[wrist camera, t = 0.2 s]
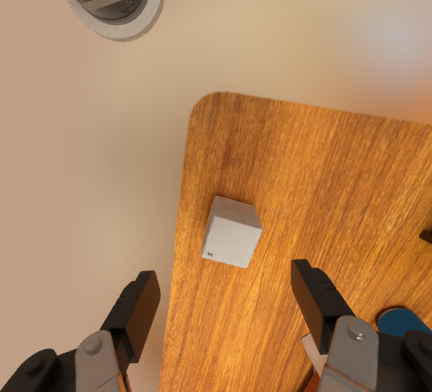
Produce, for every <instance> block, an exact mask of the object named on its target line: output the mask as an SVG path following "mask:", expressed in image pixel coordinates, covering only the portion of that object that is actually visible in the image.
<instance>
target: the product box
mask: <svg viewBox="0 0 432 392" xmlns="http://www.w3.org/2000/svg"><path fill="white" fill-rule="evenodd" d="M262 231H263V228H262V226H261V224H260V221H259V218H258V216H257V213H256V211H255V208H254V206H253V205H250V204H246V203H243V202H239V201H235V200H231V199H228V198H224V197H220V196H217V195H215V197H214V200H213V203H212V206H211V210H210V213H209V216H208V220H207V224H206V227H205V233H204V240H203V246H202V253H201V257H202V258H206V259H210V260H214V261H218V262H222V263H226V264H230V265H234V266H238V267H242V268H247V267H248V264H249V262H250V260H251V257H252V255H253V253H254V250H255V248H256V245H257V243H258V241H259V238H260V236H261V233H262Z"/></svg>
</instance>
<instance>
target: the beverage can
mask: <svg viewBox="0 0 432 392" xmlns="http://www.w3.org/2000/svg"><path fill="white" fill-rule="evenodd" d="M377 327H378V329H379V331H380V332H381V333H385V334H390V335H394V336H398V337H403V338H404V334H405V333H406V332H407V331H409V330H421V331H425V332H428V333H430V334H432V331H431V330H430V329H429V328H428V327H427V326H426V325H425V324H424V323H423V322H422V321H421V320H420V319H419V318H418V317H417V316H416V315H415V314H414V313H413V312H412V311H410V310H408V309H403V308H392V309H388V310H386V311H384V312H383V313H382V314H381V315H380V317H379V320H378V323H377Z"/></svg>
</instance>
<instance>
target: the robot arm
mask: <svg viewBox="0 0 432 392" xmlns="http://www.w3.org/2000/svg"><path fill="white" fill-rule="evenodd" d="M75 1H76V2H78V3H79V4H80V5H81V6H82V7H83V8H84V9H85V10H86V11H87V12H88V13H89V14H91V15H92V16H93V17H94V18H96V19H97V20H99V21H101V22H103V23H106V24H110V25H123V24H126V23H129V22H131V21H133V20H134V19H136V18H137V17H138V16H139V15H140V14H141V12H142V11H143V10H144V8H145V6H146V4H147V2H148V0H75ZM291 285H292V290H293V293H294V295H295V298H296V300H297V302H298V305H299V307H300V309H301V312H302V314H303V316H304V319H305V321H306V324H307V326H308V328H309V331H310V333H311V335H312V338H313V340H314V342H315V345H316V347H317V349H318V352H319V354H320V355H328V357H327V361H326V364H324V367H323V370H322V374H321V378H320V382H319V386H318V390H317V392H432V334H430V333H428V332H425V331H421V330H409V331H407V332H406V333H405V334H404V338H403V337H398V336H394V335H390V334H385V333H381V332H378V331H375V330H374V329H373V328H372V327H371V326H370V325H369V324H368V323H367V322H365V321H364V320H362V319H360V318H357V317H356V316H355V314H354V313H353V312H352V310H351V309H350V307H349V306H348V304H347V303H346V302H345V300H344V299H343V297H342V296H341V294H340V293H339V292H338V290H336V287H335V286H334V284H333V283H332V282H331V280H330V279H329V277H328V276H327V274H326V273H324V272H323V271H322V270H320V269H319V268H312V267H311V266H310V264H309V262H308V261H307V260H306V259H296V260H292V261H291ZM160 296H161V295H160V288H159V284H158V280H157V277H156V273H155V271H154V270H153V271H141V272H140V273H139V275H138V277H137V278H136V280H135V281H132V282H130V283H129V284H128V285H127V286H126V287H125V288H124V290H123V291H122V293H121V295H120V297H119V298H118V300H117V301H116V304H115V305H114V306H113V308H112V310H111V312H110V313H109V315H108V316H107V318H106V320H105V321H104V323H103V325H102V327H101V328H100V330H99V331H97V332H95V333H93V334H91V335H90V336H88V337H87V338H86V339H85V340H84V341H83V342H82V343H81V344H80V345H79V347H78V348H77V349H74V350H71V351H69V352H66V353H63V354H61V355H58V356H57V354H56V353H55V351H54V350H53V349H44V350H41V351H39V352H37V353H35V354H34V355H32V356H31V357H29V358H28V359H27V360H26V361H24V363H22V364H21V365H20V367H19V368H18V369H17V370H16V372H15V373H14V374H13V375H12V377H11V378H10V379H9V380H8V382H7V383H6V384H5V386H4V387H3V388H2V389H1V391H0V392H132V391H131V387H130V383H129V379H128V375H127V372H126V371H127V369H128V366H129V364H130V363H138V362H139V359H140V356H141V353H142V350H143V348H144V344H145V342H146V339H147V336H148V333H149V331H150V328H151V325H152V322H153V319H154V316H155V313H156V311H157V308H158V305H159V302H160Z"/></svg>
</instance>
